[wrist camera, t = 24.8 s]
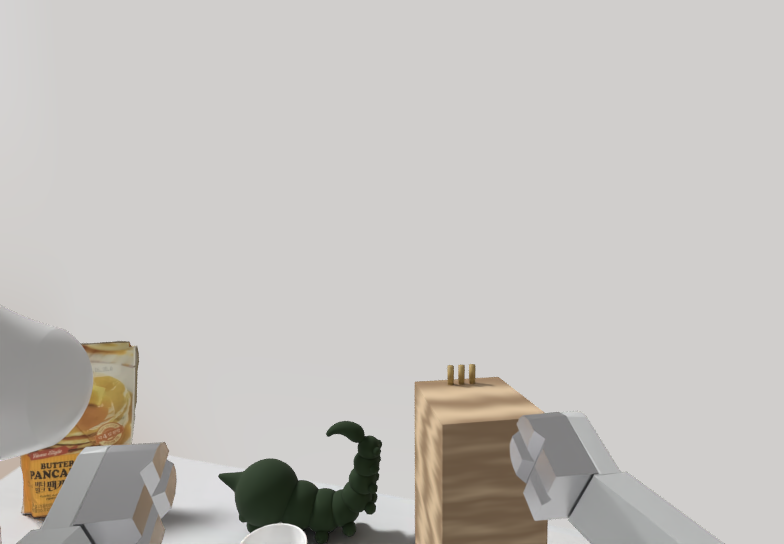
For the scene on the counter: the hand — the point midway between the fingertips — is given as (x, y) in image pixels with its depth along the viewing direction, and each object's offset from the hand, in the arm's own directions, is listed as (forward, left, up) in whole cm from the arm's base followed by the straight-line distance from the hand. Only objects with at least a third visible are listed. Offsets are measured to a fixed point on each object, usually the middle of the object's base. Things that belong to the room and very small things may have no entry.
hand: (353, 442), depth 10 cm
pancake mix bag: (-76, +32, -41) cm, 92 cm away
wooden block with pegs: (-9, +42, -40) cm, 59 cm away
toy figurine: (-36, +43, -41) cm, 69 cm away
